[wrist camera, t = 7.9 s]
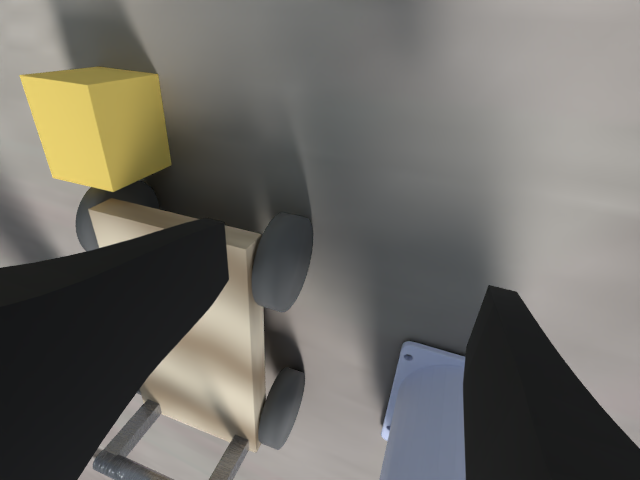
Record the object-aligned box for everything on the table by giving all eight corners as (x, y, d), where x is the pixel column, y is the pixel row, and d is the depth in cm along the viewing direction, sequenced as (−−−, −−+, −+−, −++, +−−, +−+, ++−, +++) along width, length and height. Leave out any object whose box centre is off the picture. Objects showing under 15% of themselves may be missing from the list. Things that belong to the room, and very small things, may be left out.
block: (172, 164, 22) (113, 191, 19) (119, 153, 23) (52, 177, 20) (159, 74, 20) (87, 85, 16) (99, 66, 21) (19, 75, 17)
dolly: (303, 402, 29) (237, 547, 21) (168, 354, 32) (67, 464, 24) (315, 202, 20) (209, 318, 12) (128, 163, 23) (-52, 235, 15)
